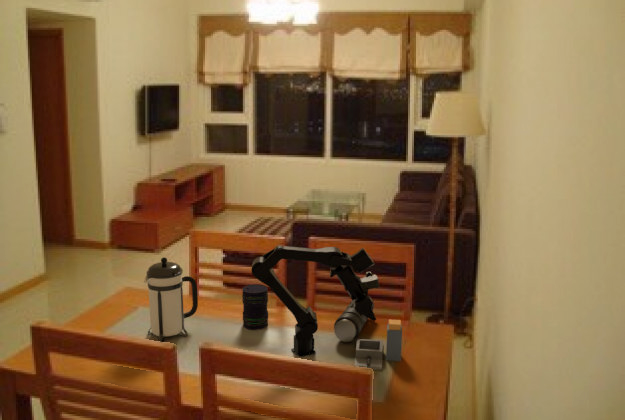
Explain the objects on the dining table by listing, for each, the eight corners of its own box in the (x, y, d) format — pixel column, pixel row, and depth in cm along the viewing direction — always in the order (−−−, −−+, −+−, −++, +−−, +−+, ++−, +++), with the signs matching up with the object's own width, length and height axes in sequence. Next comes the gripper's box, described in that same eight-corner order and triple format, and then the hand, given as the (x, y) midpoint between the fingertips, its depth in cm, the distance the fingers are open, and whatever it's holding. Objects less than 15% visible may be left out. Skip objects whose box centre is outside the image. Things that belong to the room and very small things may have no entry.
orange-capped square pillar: (386, 360, 204) (387, 324, 201) (386, 353, 209) (387, 318, 206) (400, 361, 204) (402, 325, 201) (400, 354, 208) (402, 319, 206)
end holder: (354, 368, 198) (354, 357, 197) (357, 342, 218) (358, 332, 217) (381, 370, 197) (382, 359, 196) (382, 344, 216) (383, 333, 216)
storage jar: (270, 320, 237) (269, 284, 234) (266, 330, 228) (265, 293, 225) (245, 319, 238) (244, 283, 235) (240, 329, 229) (239, 292, 226)
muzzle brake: (374, 318, 240) (375, 294, 238) (357, 347, 214) (358, 320, 212) (351, 315, 243) (351, 291, 241) (331, 344, 217) (332, 317, 215)
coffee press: (180, 345, 215) (177, 265, 209) (139, 341, 218) (135, 262, 212) (199, 326, 232) (196, 251, 225) (160, 322, 235) (157, 248, 228)
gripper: (372, 275, 195) (397, 313, 198) (365, 259, 213) (388, 293, 217) (344, 294, 196) (369, 330, 199) (339, 275, 214) (362, 309, 217)
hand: (373, 315), depth 208 cm, fingers open, 9 cm apart
